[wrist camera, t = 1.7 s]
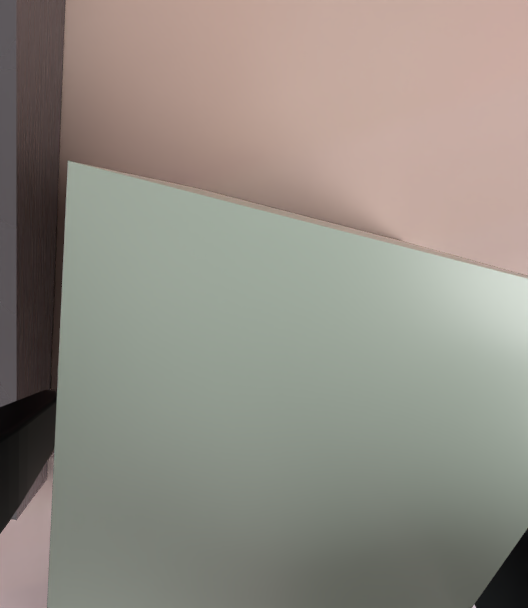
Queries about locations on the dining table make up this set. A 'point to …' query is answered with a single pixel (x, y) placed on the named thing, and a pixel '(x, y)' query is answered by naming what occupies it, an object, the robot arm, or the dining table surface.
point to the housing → (278, 409)
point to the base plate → (28, 195)
